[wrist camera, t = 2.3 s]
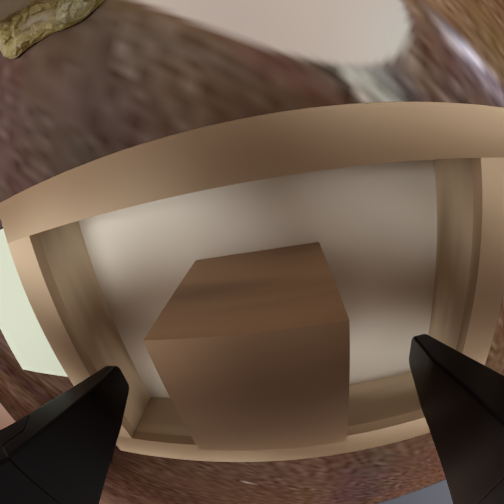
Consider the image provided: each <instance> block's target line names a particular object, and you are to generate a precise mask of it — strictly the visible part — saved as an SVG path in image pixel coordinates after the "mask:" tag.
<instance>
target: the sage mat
mask: <svg viewBox="0 0 504 504" xmlns="http://www.w3.org/2000/svg"><path fill="white" fill-rule="evenodd" d="M0 329H1V331H2V333H3V335H4V337H5V339H6V341H7V343H8V344H9V346H10V348H11V350H12V352H13V354H14V355H15V357H16V359H17V361H18V362H19V364H20V366H21V367H22V369H23V370H29V371H34V372H40V373H46V374H52V375H59V376H66V377H68V376H67V374H66V373H65V371H64V369H63V368H62V366H61V364H60V362H59V361H58V359H57V357H56V355H55V353H54V352H53V350H52V348H51V346H50V344H49V342H48V340H47V338H46V336H45V335H44V333H43V331H42V328H41V326H40V324H39V322H38V320H37V318H36V316H35V314H34V311H33V309H32V307H31V305H30V302H29V300H28V298H27V295H26V293H25V290H24V288H23V285H22V283H21V280H20V278H19V275H18V272H17V270H16V267H15V264H14V261H13V258H12V255H11V252H10V249H9V246H8V243H7V239H6V236H5V233H4V229H1V230H0Z"/></svg>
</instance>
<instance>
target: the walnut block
mask: <svg viewBox="0 0 504 504" xmlns="http://www.w3.org/2000/svg"><path fill="white" fill-rule="evenodd" d="M143 341H144V344H145V346H146V348H147V351H148V353H149V355H150V357H151V359H152V362H153V364H154V366H155V368H156V370H157V372H158V374H159V376H160V378H161V381H162V383H163V385H164V387H165V389H166V391H167V393H168V395H169V396H170V398H171V400H172V402H173V404H174V406H175V408H176V410H177V412H178V414H179V415H180V417H181V419H182V421H183V423H184V424H185V426H186V428H187V430H188V431H189V433H190V435H191V437H192V438H193V440H194V442H195V443H196V445H197V447H198V448H199V450H218V451H251V450H274V449H288V448H299V447H309V446H317V445H325V444H331V443H338V442H344V441H346V440H347V426H348V408H349V380H350V325H349V317H348V315H347V312H346V309H345V307H344V304H343V301H342V299H341V296H340V293H339V291H338V288H337V286H336V283H335V280H334V278H333V275H332V273H331V270H330V268H329V265H328V263H327V260H326V258H325V255H324V253H323V251H322V248H321V246H320V243H319V242H315V243H308V244H301V245H295V246H288V247H281V248H274V249H268V250H261V251H254V252H247V253H241V254H234V255H227V256H220V257H214V258H207V259H200V260H195V262H194V263H193V265H192V266H191V268H190V269H189V271H188V272H187V274H186V275H185V277H184V278H183V280H182V281H181V283H180V284H179V286H178V287H177V289H176V290H175V292H174V293H173V295H172V296H171V298H170V299H169V301H168V302H167V304H166V306H165V307H164V309H163V310H162V312H161V313H160V315H159V316H158V318H157V319H156V321H155V323H154V324H153V326H152V327H151V329H150V330H149V332H148V333H147V335H146V337H145V338H144V340H143Z"/></svg>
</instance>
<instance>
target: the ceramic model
mask: <svg viewBox="0 0 504 504" xmlns="http://www.w3.org/2000/svg"><path fill="white" fill-rule="evenodd" d="M103 1H104V0H0V49H1V52H2V54H3V56H5V57H6V58H9V59H15V58H17V57H18V56H19V55H20V54H21V53H23V52H24V51H25V50H26V49H28V48H29V47H30V46H32V45H33V44H34V43H37V42H38V41H40V40H42V39H43V38H45V37H47V36H49V35H50V34H53V33H54V32H57V31H61V30H63V29H65V28H68V27H70V26H72V25H75V24H77V23H79V22H81V21H82V20H83V19H84V18H86V17H87V16H88V15H89V14H90V13H91V12H93V11H94V10H95V9H96V8H97V7H98V6H99V5H100V4H101V3H102V2H103Z"/></svg>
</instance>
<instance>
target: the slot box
mask: <svg viewBox="0 0 504 504" xmlns="http://www.w3.org/2000/svg"><path fill="white" fill-rule="evenodd" d="M0 218H1V222H2V226H3V229H4V233H5V236H6V239H7V243H8V246H9V249H10V252H11V255H12V258H13V261H14V264H15V267H16V270H17V272H18V275H19V278H20V280H21V283H22V285H23V288H24V290H25V293H26V295H27V298H28V300H29V302H30V305H31V307H32V309H33V311H34V314H35V316H36V318H37V320H38V322H39V324H40V326H41V328H42V331H43V333H44V335H45V336H46V338H47V340H48V342H49V344H50V346H51V348H52V350H53V352H54V353H55V355H56V357H57V359H58V361H59V362H60V364H61V366H62V368H63V369H64V371H65V373H66V374H67V376H68V378H69V379H70V381H71V382H72V384H73V386H75V385H77V384H78V383H80V382H82V381H83V380H85V379H86V378H88V377H90V376H91V375H93V374H94V373H96V372H97V371H99V370H101V369H102V368H104V367H105V366H109V365H110V366H118V367H119V368H120V369H121V371H122V373H123V375H124V377H125V378H126V380H127V382H128V384H129V394H128V398H127V403H126V407H125V412H124V416H123V421H122V425H121V429H120V433H119V436H118V439H117V442H116V445H117V446H118V447H119V449H120V450H121V451H126V452H132V453H138V454H144V455H150V456H157V457H165V458H174V459H184V460H197V461H216V462H264V461H283V460H295V459H306V458H315V457H322V456H330V455H336V454H342V453H348V452H354V451H359V450H364V449H369V448H374V447H378V446H382V445H386V444H390V443H394V442H398V441H402V440H406V439H409V438H413V437H416V436H419V435H422V434H426V433H429V432H430V430H429V427H428V425H427V422H426V419H425V417H424V414H423V411H422V409H421V405H420V402H419V398H418V394H417V391H416V387H415V383H414V380H413V376H412V373H411V369H410V366H409V354H410V347H411V341H412V338H413V337H414V336H417V335H421V334H427V335H429V336H431V337H433V338H435V339H436V340H438V341H440V342H442V343H444V344H446V345H448V346H450V347H451V348H453V349H455V350H457V351H459V352H461V353H463V354H464V355H466V356H468V357H470V358H472V359H474V360H475V361H477V362H479V363H481V364H483V365H485V362H486V359H487V356H488V353H489V350H490V347H491V344H492V340H493V337H494V333H495V330H496V326H497V322H498V318H499V314H500V310H501V305H502V301H503V296H504V108H501V107H493V106H484V105H474V104H461V103H443V102H377V103H358V104H345V105H333V106H323V107H314V108H306V109H298V110H291V111H284V112H277V113H271V114H265V115H259V116H253V117H248V118H243V119H238V120H233V121H228V122H223V123H219V124H214V125H210V126H206V127H202V128H197V129H193V130H189V131H186V132H182V133H178V134H174V135H171V136H167V137H164V138H160V139H157V140H153V141H150V142H147V143H144V144H140V145H137V146H134V147H131V148H128V149H125V150H122V151H119V152H116V153H113V154H110V155H108V156H105V157H102V158H99V159H97V160H94V161H91V162H89V163H86V164H84V165H81V166H79V167H76V168H74V169H71V170H69V171H66V172H64V173H62V174H59V175H57V176H55V177H52V178H50V179H48V180H46V181H43V182H41V183H39V184H37V185H35V186H33V187H31V188H29V189H26V190H24V191H22V192H20V193H18V194H16V195H14V196H12V197H11V198H9V199H7V200H5V201H3V202H1V203H0ZM315 242H319V243H320V246H321V248H322V251H323V253H324V255H325V258H326V260H327V263H328V265H329V268H330V270H331V273H332V275H333V278H334V280H335V283H336V286H337V288H338V291H339V293H340V296H341V299H342V301H343V304H344V307H345V309H346V312H347V315H348V317H349V325H350V380H349V408H348V426H347V440H346V441H344V442H338V443H331V444H325V445H317V446H309V447H299V448H288V449H274V450H251V451H218V450H199V448H198V447H197V445H196V443H195V442H194V440H193V438H192V437H191V435H190V433H189V431H188V430H187V428H186V426H185V424H184V423H183V421H182V419H181V417H180V415H179V414H178V412H177V410H176V408H175V406H174V404H173V402H172V400H171V398H170V396H169V395H168V393H167V391H166V389H165V387H164V385H163V383H162V381H161V378H160V376H159V374H158V372H157V370H156V368H155V366H154V364H153V362H152V359H151V357H150V355H149V353H148V351H147V348H146V346H145V344H144V341H143V340H144V338H145V337H146V335H147V333H148V332H149V330H150V329H151V327H152V326H153V324H154V323H155V321H156V319H157V318H158V316H159V315H160V313H161V312H162V310H163V309H164V307H165V306H166V304H167V302H168V301H169V299H170V298H171V296H172V295H173V293H174V292H175V290H176V289H177V287H178V286H179V284H180V283H181V281H182V280H183V278H184V277H185V275H186V274H187V272H188V271H189V269H190V268H191V266H192V265H193V263H194V262H195V260H200V259H207V258H214V257H220V256H227V255H234V254H241V253H247V252H254V251H261V250H268V249H274V248H281V247H288V246H295V245H301V244H308V243H315Z"/></svg>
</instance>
